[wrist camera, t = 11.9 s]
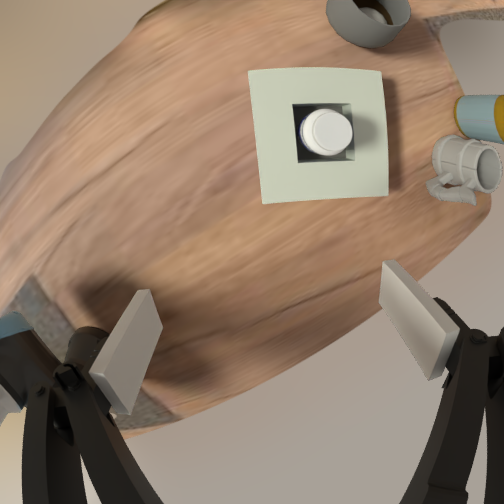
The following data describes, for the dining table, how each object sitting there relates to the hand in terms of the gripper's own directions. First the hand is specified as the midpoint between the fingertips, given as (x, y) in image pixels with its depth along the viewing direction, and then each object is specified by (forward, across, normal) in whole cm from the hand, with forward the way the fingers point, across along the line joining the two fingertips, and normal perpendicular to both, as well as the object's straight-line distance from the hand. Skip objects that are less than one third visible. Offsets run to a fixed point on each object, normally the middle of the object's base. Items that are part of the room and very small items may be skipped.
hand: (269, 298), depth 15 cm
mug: (+23, +28, +4) cm, 37 cm away
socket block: (+23, +9, +8) cm, 26 cm away
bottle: (+22, +35, +12) cm, 43 cm away
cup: (+23, +16, +24) cm, 37 cm away
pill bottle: (+23, +8, +8) cm, 26 cm away
